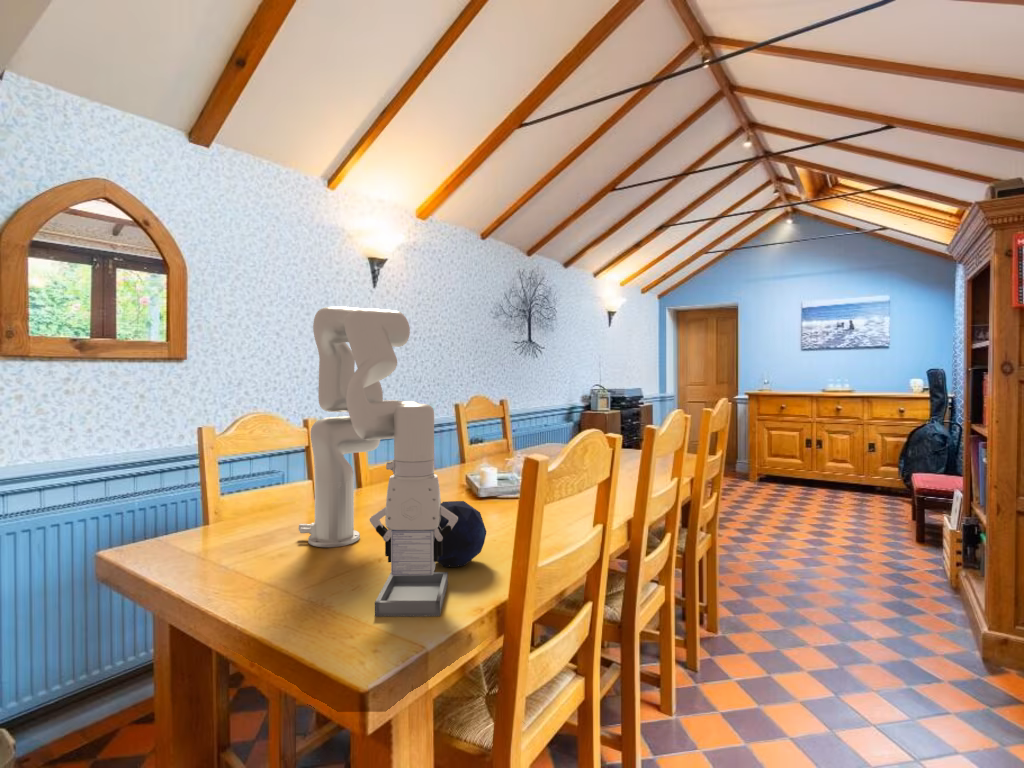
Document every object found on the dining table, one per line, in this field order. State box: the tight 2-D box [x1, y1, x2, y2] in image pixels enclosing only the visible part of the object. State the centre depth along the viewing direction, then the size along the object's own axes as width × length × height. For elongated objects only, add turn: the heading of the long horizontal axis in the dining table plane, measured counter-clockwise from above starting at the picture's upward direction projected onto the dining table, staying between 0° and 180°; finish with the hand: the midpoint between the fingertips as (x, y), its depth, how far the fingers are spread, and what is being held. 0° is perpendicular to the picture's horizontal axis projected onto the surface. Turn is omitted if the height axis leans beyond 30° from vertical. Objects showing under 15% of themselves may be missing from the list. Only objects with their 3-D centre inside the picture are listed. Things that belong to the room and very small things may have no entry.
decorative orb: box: [436, 500, 487, 568], centre depth 124 cm, size 14×15×15 cm
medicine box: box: [390, 530, 436, 576], centre depth 104 cm, size 8×4×9 cm, turn 92°
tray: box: [374, 571, 449, 617], centre depth 105 cm, size 12×15×2 cm
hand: (414, 559), depth 104 cm, fingers closed on medicine box, 8 cm apart
